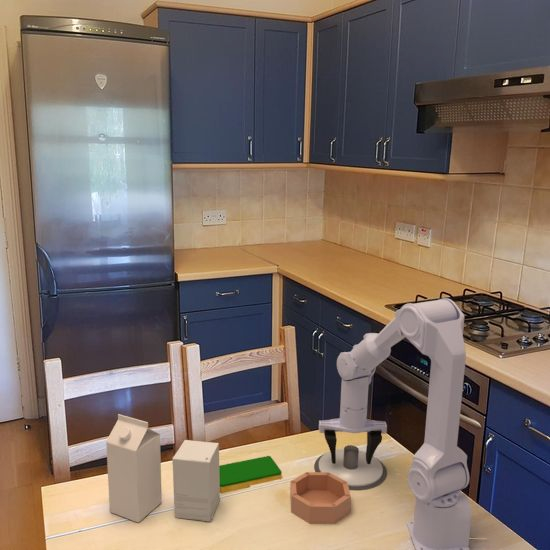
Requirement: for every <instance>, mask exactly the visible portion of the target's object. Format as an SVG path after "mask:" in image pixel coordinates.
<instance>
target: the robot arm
mask: <svg viewBox="0 0 550 550" xmlns="http://www.w3.org/2000/svg"><path fill="white" fill-rule="evenodd" d="M464 322H465V315H464V313H463V311H462V310H461V309H460V308H459V306H458V305H457V303H456V302H455V301H454V300H452V299H450V298H447V297H443V298H440V299H437V300H429V301H424V302H423V301H421V302H417V303H406V304H403V305H402V306H401V307H400V309H397V310H396V311H395V313H394V317H393V318H392V319H391V320H390V321H389V322H388V323H387V324H386V325H385V326H384V328H383V329H382V330H381V331H379V333H377V332H376V333H375V332H369V333H365V334H364V335H363V339H362V340H361V341H360V342H359V343H358V344H354V345H353V346H352V349H351V351H347V352H346V351H344V352H343V351H342V352H339V355H338V357H337V359H336V369H337V372H338V374H339V376H340V378H341V386H340V389H341V390H340V408H339V418H332V419H325V420H324V419H323V420H318V432H319V434H324V439H325V442H326V443H327V445H328V448H329V452H331V460H332V463H333V464H335V463H336V450H337V433H338V432H341V433H342V432H344V433H349V434H360V433H366V449H365V451H366V452H365V453H366V461H367V464H370V463H371V460H372V457H373V456H374V454H375V452H376V450H377V448H378V447H379V445H380V444H381V443H382V441H383V440H382V439H383V435H386V434H387V430H388V425H387V422H386V421H381V420H373V419H368V418H367V416H368V402H369V400H368V398H369V385H371V383H372V378H373V375H374V374H375V372H376V368H377V366H378V365H380V364H381V363H382V362H383V361H385V360H387V358H389V357H390V355H391V352H392V349H391V348H392V347H393V346H394V345H396V344H398V343H400V342H401V341H402V340H404V339H405V338H406V339H407V340H408V341H409V342H410V343H411V344H412V345H413V346H414V347H415V348H416V349H417V350H418V351H419V352H420V353H421V355H425V356H427V357H428V358H429V359H430V373H429V383H428V384H429V385H428V396H427V397H428V398H427V406H426V417H425V418H426V419H425V429H424V440H423V444H422V445H421V447H420V448H419V449H418V450H417V451H416V452H415V454H414V455H413V456H412V464H411V466H410V467H409V468H408V471H407V482H408V483H407V484H408V487H409V489H410V492H412V494H413V496H414V497H415V501H414V511H413V512H414V513H413V520H412V521H406V522H405V523H406V526H407V529H408V532H409V534H410V538H411V540H412V543H413V546H414V550H470V547H469V546H470V537H471V536H470V535H471V527H472V508H471V503H470V500H469V498H468V496H467V494H465V493H462V490H463V489H466V488H467V486H468V485H469V484H470V472H469V468H468V463H467V462H468V461H467V460H468V454H466V452H464V450H462V449H461V448H460V447H459V446H458V439H459V428H460V421H461V420H460V417H461V409H462V408H461V407H462V399H463V398H462V397H463V387H464V378H465V370H466V369H465V368H466V358H467V355H466V354H467V352H466V347H465V346H466V345H465V341H464V336H463V335H464V326H465V323H464ZM336 432H337V433H336Z"/></svg>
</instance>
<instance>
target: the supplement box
mask: <svg viewBox="0 0 550 550" xmlns="http://www.w3.org/2000/svg"><path fill="white" fill-rule="evenodd" d="M178 448H179V449H177V451H176V452H175V454H174V456H173V457H172V458H171V459H172V476H173V478H172V479H173V480H172V481H173V483H172V484H173V505H174V506H173V507H174V511H173V512H174V518H175V519H176V518H178V519H187V520H192V521H193V520H195V521H203V522H211V520H212V518H213V516H214V513H215V511H216V510H217V507H218V504H219V502H220V500H221V496H220V495H221V493H220V479H219V466H220V443H219V442H212V441H211V442H210V441H201V440H191V439H190V440H189V439H184V440H183V442H182V444H181V445H180V447H178Z"/></svg>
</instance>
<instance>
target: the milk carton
mask: <svg viewBox="0 0 550 550" xmlns="http://www.w3.org/2000/svg"><path fill="white" fill-rule="evenodd" d="M105 441H106V442H105V443H106V444H105V445H106V462H107V463H106V464H107V481H108V482H107V483H108V484H107V485H108V499H109V500H108V501H109V512H110V513H112V514H114V515H117V516H120V517H122V518H124V519H128V520H131V521H133V522H136V523H140V522H141V521H142V520H144V519H145V518H146V516H148V515H149V514H150V513H151V512H153V511H154V510H155V509H156V508H157V507H158V506H159V505H160V504H161V503H162V502H163V501H162V495H163V493H162V467H161V466H162V464H161V463H162V462H161V461H162V460H161V434H160V433H159V432H157V431H155V430H153V429H151V428H150V427H149V422H148V421H144V420H140V419H137V418H134V417H130V416H127V415H123V414H120V413H118V414H117V421H116V423H115V425H114V426H113V427H112V430H111V431H110V434H109V436H108V437H107V439H106V440H105Z"/></svg>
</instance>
